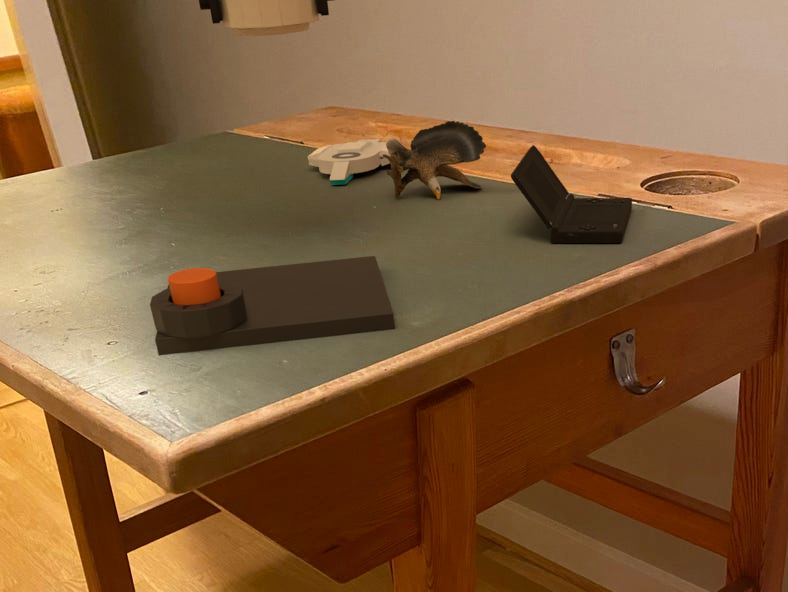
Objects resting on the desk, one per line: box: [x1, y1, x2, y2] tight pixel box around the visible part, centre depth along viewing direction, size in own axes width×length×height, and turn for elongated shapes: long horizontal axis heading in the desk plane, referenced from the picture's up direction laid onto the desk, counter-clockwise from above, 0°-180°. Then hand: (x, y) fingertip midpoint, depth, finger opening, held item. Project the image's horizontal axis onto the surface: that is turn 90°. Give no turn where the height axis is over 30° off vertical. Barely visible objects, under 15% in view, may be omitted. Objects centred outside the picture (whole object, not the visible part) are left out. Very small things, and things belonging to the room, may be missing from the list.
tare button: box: [167, 267, 221, 305], centre depth 68 cm, size 3×3×2 cm
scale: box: [149, 255, 396, 356], centre depth 74 cm, size 16×15×3 cm
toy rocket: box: [307, 138, 391, 186], centre depth 111 cm, size 16×10×2 cm, turn 172°
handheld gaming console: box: [510, 144, 633, 244], centre depth 87 cm, size 12×7×10 cm
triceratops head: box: [383, 120, 487, 201], centre depth 99 cm, size 8×7×9 cm
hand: (270, 15), depth 73 cm, fingers closed on bowl, 6 cm apart
